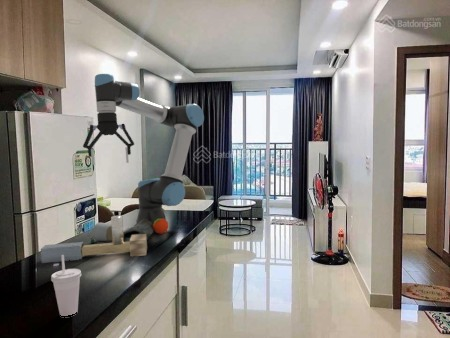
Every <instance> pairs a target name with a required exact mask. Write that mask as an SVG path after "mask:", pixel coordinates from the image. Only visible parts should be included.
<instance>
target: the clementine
mask: <svg viewBox="0 0 450 338" xmlns="http://www.w3.org/2000/svg"><path fill="white" fill-rule="evenodd" d="M152 229H153V232H155V233H157V234H158V235H159V234H161V235H162V234H164V233H166V232H168V229H169V223H168V221H167V219H166V220H165V219H163V218H160V219H157V220H156V221H155V222H154V224H153V227H152Z"/></svg>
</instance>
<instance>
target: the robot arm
mask: <svg viewBox="0 0 450 338" xmlns="http://www.w3.org/2000/svg"><path fill="white" fill-rule="evenodd" d="M94 89H95V101H96V103H95V104H96V112H97V114H96V115H97V116H96V117H97V125H94V124H90V125H89V131H88V134H87V135H86V138H85V141H84V143H83V145H82V147H83V148H84V149H87V152H88V158H91V165H92V166H95V165H96V160H95V150H94V148H93V147H94V146H95V145H96V143H97V142H98V141H99V140H100V138H101V137H103V136H113V135H115V136H116V137H117V138H118V139H119V140H120V141H121V142H122V144H124V145H125V146H126V147H125V160H126V161H125V163H127V164H129V156H130V155H131V154H132V153H131V147H132V146H134V145H135V142H134V141H133V138H132V137H131V136H130V134H129V131H128V130H127V128H126V124H125V123H121V124H118V117H117V113H116V112H117V107H118V108H120V109H123V110H126V111H129V112H132V113H136V114H138V115H141V116H144V117H147V118H149V119H152V120H155V122H156V123H158V124H161V125H164V126H166V127H169V128H170V127H171V128H174V129H175V133H174V137H173V140H172V143H171V148H170V152H169V156H168V160H167V163H166V167H165V170H164V173H163V174H161V175H160V176H159V178H151V179H150V178H149V179H144V180H140V181H138V184H137V191H138V192H137V193H138V196H137V197H138V213H137V217H136V223H135V224H136V225H137V224H138V223H139V222H140V221H141V220H143V219H146V220H149V221H150V222H151V223H152V224H154V222H155V221H156V220H157V219H160V218H163V219H165V220H166V221H167V218H166V215H165V212H164V209H163V206H167V207H175V206H178V205H180V204H181V203H182V202H183V201H184V198H185V197H186V189H185V185H184V180H183V179H182V176H183V171H184V170H185V169H184V167H185V165H186V161H187V157H188V153H189V149H190V145H191V141H192V138H193V135H194V134H196V132H197V130H198V127H201V126H202V125H203V123H204V121H205V115H204V112H203V110H202V108H201V107H200V105H198V104H196V103H187V104H184V105H183V104H182V105H178V106H177V105H176V106H166V105H163V104H162V105H159V104H157V103H154V102H151V101H148V100H145V99H143V98H140V94H141V93H140V87H139V85H138V84H136V83H133V82H127V81H126V82H124V81H117V80H115V77H114V75H112V74H110V73H98V74H96V75H95V76H94ZM119 128H120V130H122V131H123V132H124V135H125V136H126V138H127V139H128V141H129V142H128V141H127V140H126V139H125V138H124V137H123V136H122V134H120V133H119V132H118V131H117V130H118V129H119ZM96 129H97V130H98V131H99V132H98V133H97V135H96V136H95V137H94V138H93V140H92V141H91V138H92V136H93V134H94V131H96ZM90 141H91V143H90ZM89 143H90V144H89Z"/></svg>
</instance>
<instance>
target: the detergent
mask: <svg viewBox="0 0 450 338" xmlns="http://www.w3.org/2000/svg"><path fill="white" fill-rule="evenodd" d="M123 233H124V242H129V241H130V238H131V235H137V234H146V237H147V240H148V239H149V238H150V236H151V235H152V234H153V233H154V229H153V224H152V223H151V222H150V221H149V220H146V219H143V220H141V221H140V222H139V223H138V224H136V225H134V226H132V227H131V228H128V229H127V230H125V231H123Z"/></svg>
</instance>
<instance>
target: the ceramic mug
mask: <svg viewBox="0 0 450 338" xmlns="http://www.w3.org/2000/svg"><path fill="white" fill-rule="evenodd" d="M91 235H92V237H93V239H94V241H98V242H107V243H108V242H109V243H111V242H112V224H110V223H106V222H97V223H96V224H95V225H94V226H93V228H92V234H91Z"/></svg>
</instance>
